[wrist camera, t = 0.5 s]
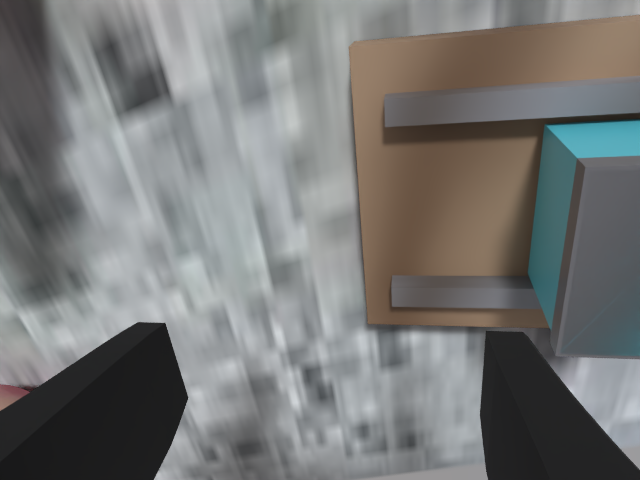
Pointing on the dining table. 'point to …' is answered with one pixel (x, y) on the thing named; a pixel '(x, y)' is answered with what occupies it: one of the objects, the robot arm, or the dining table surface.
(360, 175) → the fader console
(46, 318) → the dining table surface
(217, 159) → the dining table surface
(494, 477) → the robot arm
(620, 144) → the fader tab
